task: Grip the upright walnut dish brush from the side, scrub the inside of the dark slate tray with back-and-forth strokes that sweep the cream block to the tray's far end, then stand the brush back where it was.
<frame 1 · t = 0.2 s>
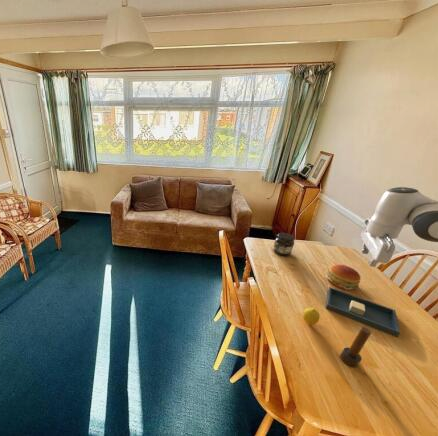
hand: (367, 259, 92), 29 cm above the table, tool pointing down, fingers open, 8 cm apart
lemon: (308, 323, 98), on the table
brush: (348, 360, 84), on the table
burger: (339, 283, 121), on the table
tray: (358, 312, 103), on the table
supplement container: (281, 252, 148), on the table
cream block: (355, 310, 104), point 1 cm above the table, touching tray
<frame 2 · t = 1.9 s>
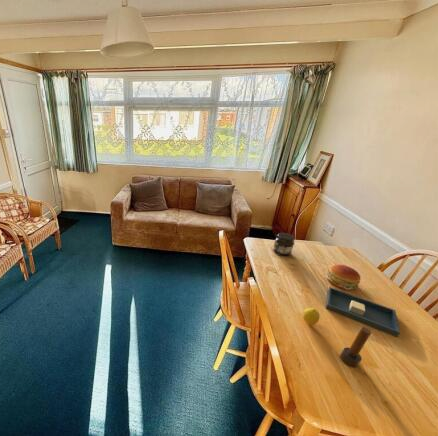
nothing on the table moved.
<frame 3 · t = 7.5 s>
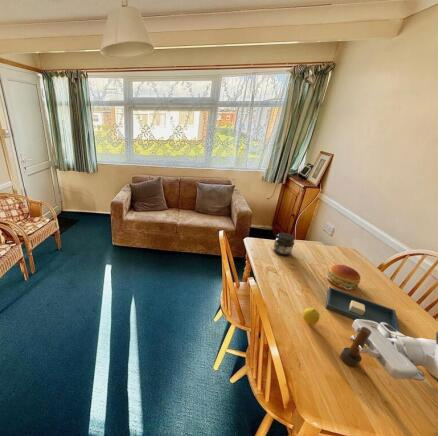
hand: (355, 343, 80), 9 cm above the table, tool horizontal, fingers closed on brush, 2 cm apart
brush: (348, 360, 84), on the table, touching gripper
everything else where it was.
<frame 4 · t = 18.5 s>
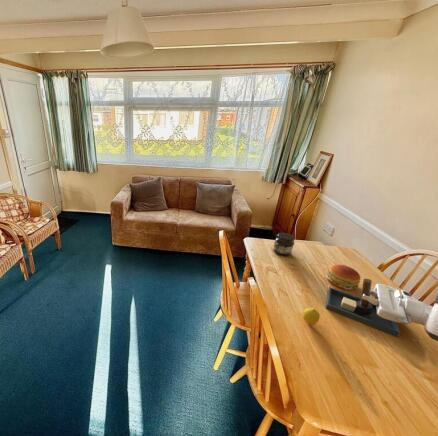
hand: (362, 293, 100), 10 cm above the table, tool horizontal, fingers closed on brush, 3 cm apart
brush: (363, 311, 102), point 2 cm above the table, tilted 12°, touching cream block, gripper
cream block: (347, 306, 106), point 1 cm above the table, touching brush, tray
everything else where it was.
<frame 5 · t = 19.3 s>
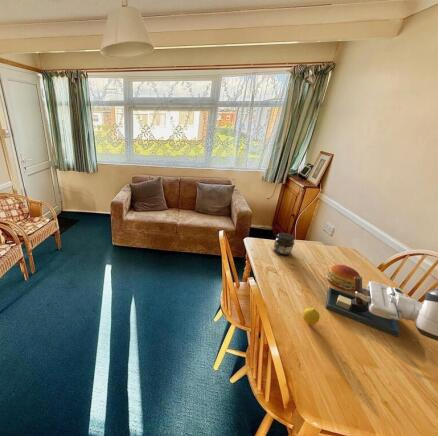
hand: (355, 290, 101), 10 cm above the table, tool horizontal, fingers closed on brush, 2 cm apart
brush: (359, 308, 103), point 2 cm above the table, tilted 18°, touching gripper
cream block: (342, 304, 107), point 1 cm above the table, touching tray
everything else where it was.
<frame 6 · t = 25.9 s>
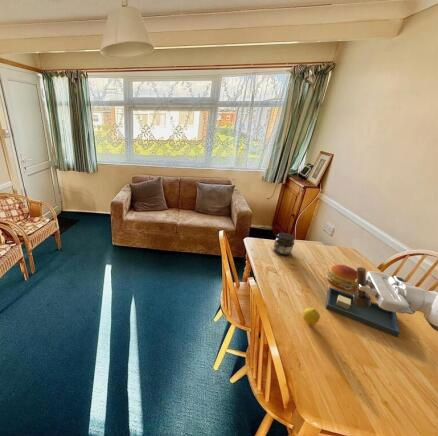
hand: (357, 283, 91), 20 cm above the table, tool horizontal, fingers closed on brush, 2 cm apart
brush: (361, 302, 93), point 12 cm above the table, tilted 18°, touching gripper
everything else where it was.
when the fingers open (9 cm above the table, at t = 31.9 s): brush stays where it is, on the table.
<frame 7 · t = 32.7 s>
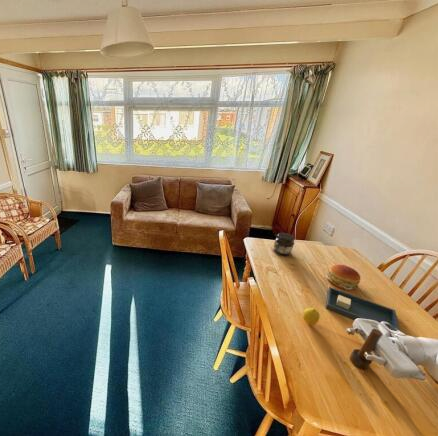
hand: (356, 342, 80), 10 cm above the table, tool horizontal, fingers open, 8 cm apart
brush: (358, 362, 83), on the table
everything else where it was.
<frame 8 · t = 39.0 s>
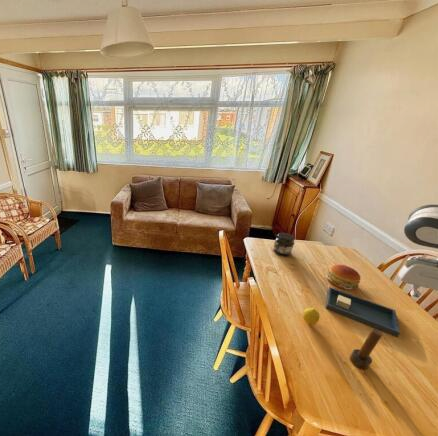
hand: (434, 301, 71), 29 cm above the table, tool pointing down, fingers open, 8 cm apart
nothing on the table moved.
at the end: cream block inside the target area in the tray (2.3 cm from its centre), point 0.6 cm above the tray's base; brush tilted 0°; brush inside the target area (3.1 cm from its centre), on the table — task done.
